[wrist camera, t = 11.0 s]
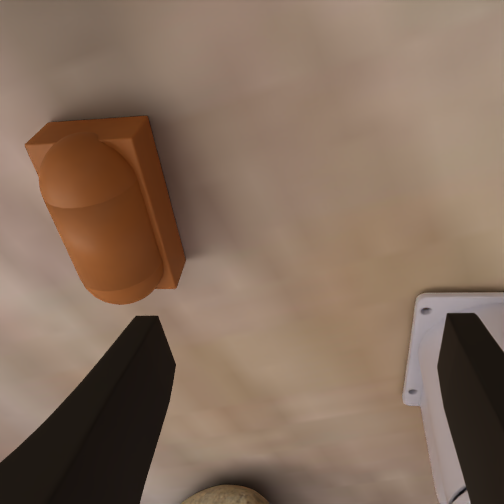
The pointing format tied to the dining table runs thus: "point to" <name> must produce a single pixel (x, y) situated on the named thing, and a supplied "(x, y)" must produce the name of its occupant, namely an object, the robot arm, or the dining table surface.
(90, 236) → the bread
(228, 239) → the dining table surface
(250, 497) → the rock
